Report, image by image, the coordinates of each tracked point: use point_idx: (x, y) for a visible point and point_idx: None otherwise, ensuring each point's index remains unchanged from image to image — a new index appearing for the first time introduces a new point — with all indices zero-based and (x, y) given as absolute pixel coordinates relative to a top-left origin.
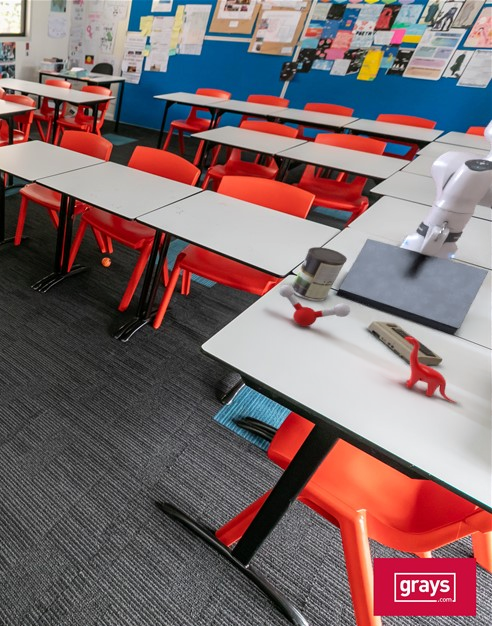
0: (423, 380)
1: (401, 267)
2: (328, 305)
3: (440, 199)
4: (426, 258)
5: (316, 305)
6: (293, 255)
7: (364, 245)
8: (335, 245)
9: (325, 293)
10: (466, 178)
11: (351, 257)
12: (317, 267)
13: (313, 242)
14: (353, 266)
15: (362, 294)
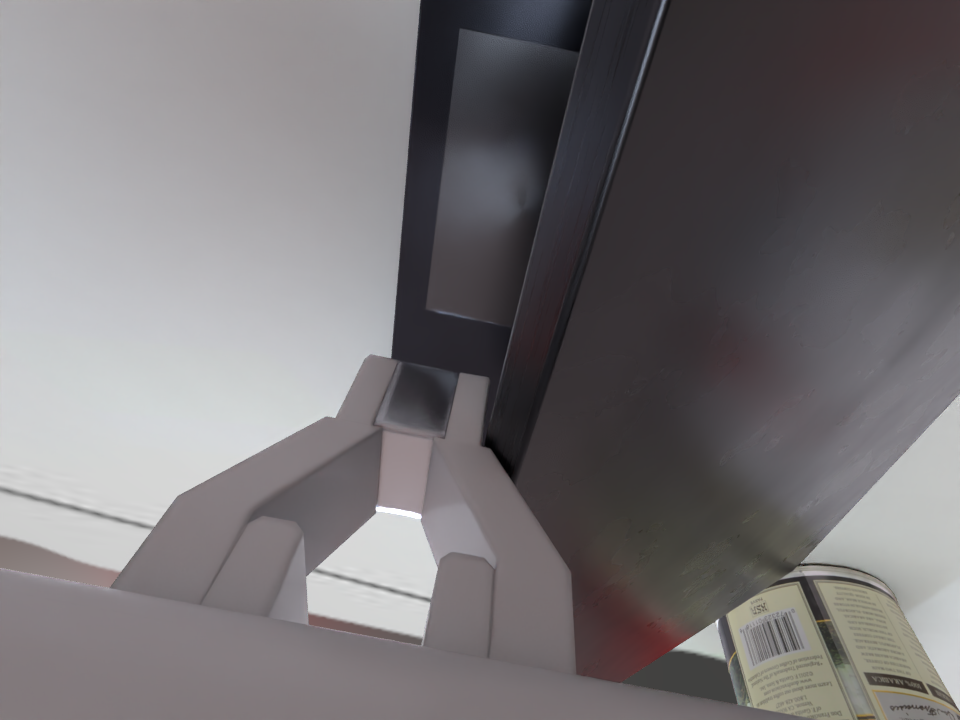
0: None
1: (720, 516)
2: (932, 563)
3: None
4: (602, 443)
5: (949, 600)
6: (367, 615)
7: None
8: (21, 466)
9: (906, 628)
10: None
11: (113, 413)
12: None
13: (105, 543)
14: (670, 648)
15: (862, 495)
